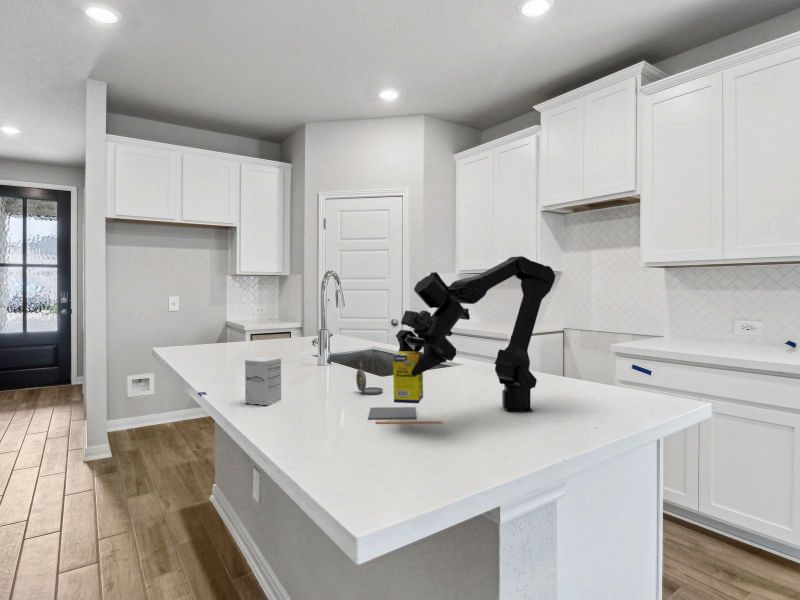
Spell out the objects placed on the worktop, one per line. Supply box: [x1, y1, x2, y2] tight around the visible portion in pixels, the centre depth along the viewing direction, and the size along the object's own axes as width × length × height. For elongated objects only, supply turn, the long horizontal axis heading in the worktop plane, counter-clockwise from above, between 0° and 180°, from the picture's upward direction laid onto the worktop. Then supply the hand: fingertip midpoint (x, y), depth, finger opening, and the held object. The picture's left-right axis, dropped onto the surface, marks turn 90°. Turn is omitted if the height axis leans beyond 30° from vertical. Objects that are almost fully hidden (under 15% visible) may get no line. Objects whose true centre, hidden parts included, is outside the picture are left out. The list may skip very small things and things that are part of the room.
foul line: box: [375, 420, 443, 425], centre depth 114 cm, size 16×1×1 cm, turn 90°
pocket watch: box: [355, 361, 384, 395], centre depth 146 cm, size 8×8×10 cm
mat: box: [367, 406, 418, 421], centre depth 122 cm, size 12×10×1 cm
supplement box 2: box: [392, 350, 424, 404], centre depth 109 cm, size 6×6×11 cm
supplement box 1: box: [244, 356, 282, 406], centre depth 135 cm, size 7×7×13 cm
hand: (403, 372), depth 109 cm, fingers closed on supplement box 2, 8 cm apart
